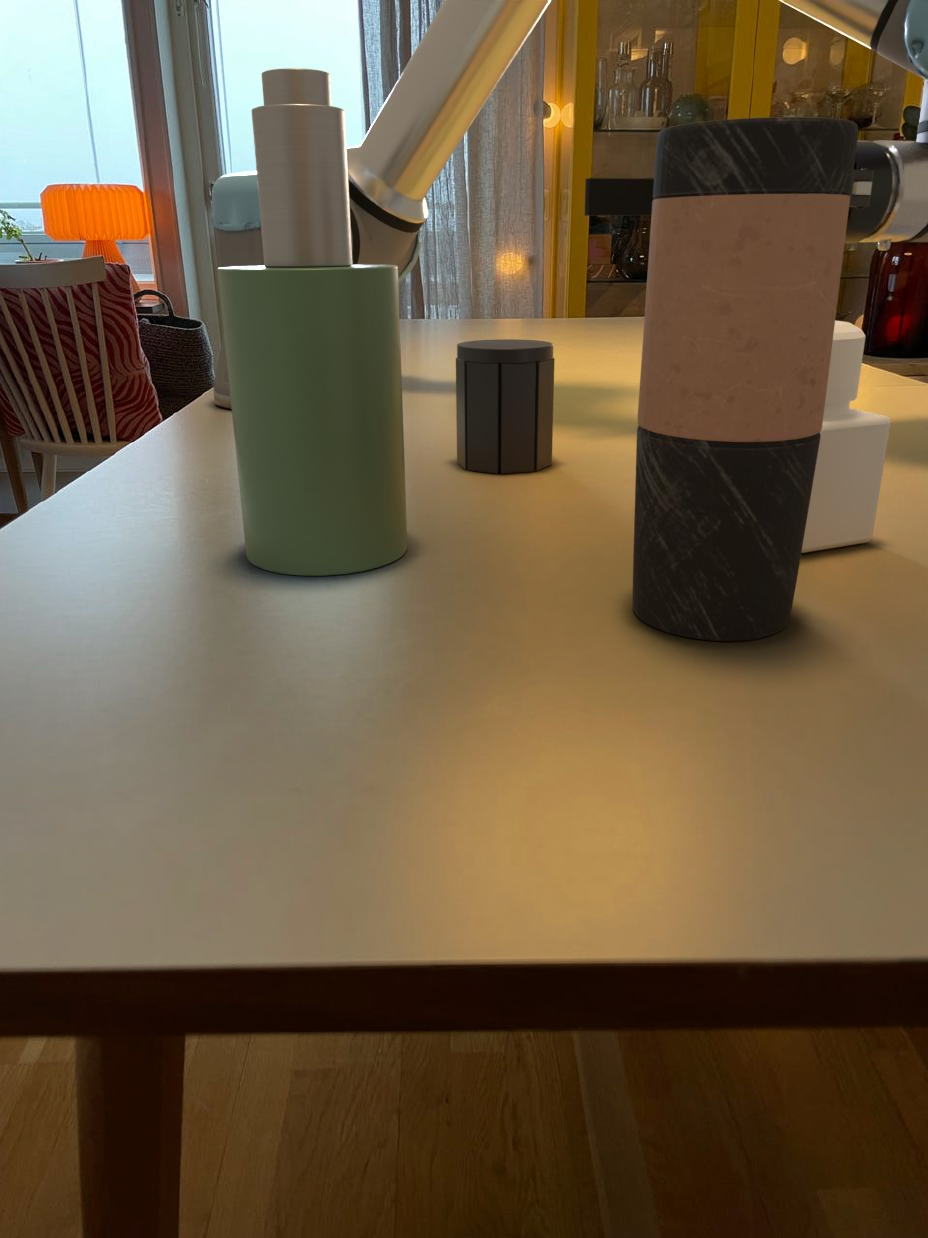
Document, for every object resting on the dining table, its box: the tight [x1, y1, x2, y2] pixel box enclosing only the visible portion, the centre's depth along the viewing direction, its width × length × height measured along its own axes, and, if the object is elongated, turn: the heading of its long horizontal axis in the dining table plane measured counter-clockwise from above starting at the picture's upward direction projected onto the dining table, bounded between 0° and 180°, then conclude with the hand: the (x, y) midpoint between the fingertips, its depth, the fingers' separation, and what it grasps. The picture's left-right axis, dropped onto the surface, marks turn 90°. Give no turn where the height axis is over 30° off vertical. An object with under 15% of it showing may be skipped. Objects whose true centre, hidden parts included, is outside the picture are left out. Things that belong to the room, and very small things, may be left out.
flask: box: [217, 67, 408, 577], centre depth 48 cm, size 9×9×24 cm
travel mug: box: [632, 116, 859, 642], centre depth 40 cm, size 8×8×20 cm
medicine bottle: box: [801, 319, 891, 554], centre depth 52 cm, size 7×7×12 cm
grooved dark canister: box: [455, 338, 555, 475], centre depth 71 cm, size 7×7×9 cm
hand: (628, 192), depth 69 cm, fingers open, 13 cm apart
